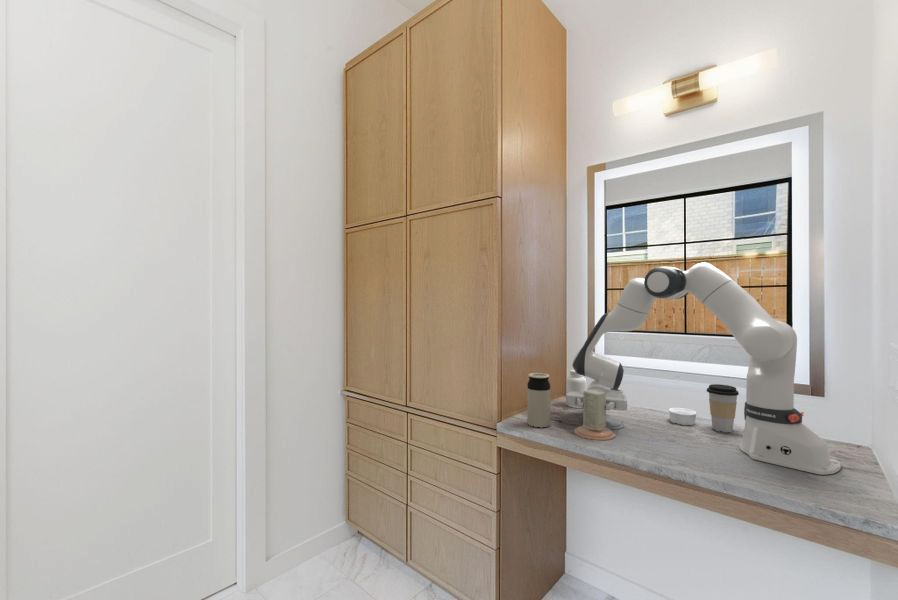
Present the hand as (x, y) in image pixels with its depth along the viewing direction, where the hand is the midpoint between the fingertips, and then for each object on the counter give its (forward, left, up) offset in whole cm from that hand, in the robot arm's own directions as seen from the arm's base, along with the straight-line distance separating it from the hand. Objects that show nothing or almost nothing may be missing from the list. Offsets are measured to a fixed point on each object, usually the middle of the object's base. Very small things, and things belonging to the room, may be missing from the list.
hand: (594, 406), depth 139 cm
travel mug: (+17, +8, -10) cm, 22 cm away
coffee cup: (-21, -42, -10) cm, 47 cm away
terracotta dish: (0, -1, -9) cm, 9 cm away
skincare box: (+1, -1, -8) cm, 8 cm away
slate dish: (+5, -13, -9) cm, 17 cm away
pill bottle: (+27, -24, -10) cm, 38 cm away
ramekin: (-9, -39, -10) cm, 41 cm away
